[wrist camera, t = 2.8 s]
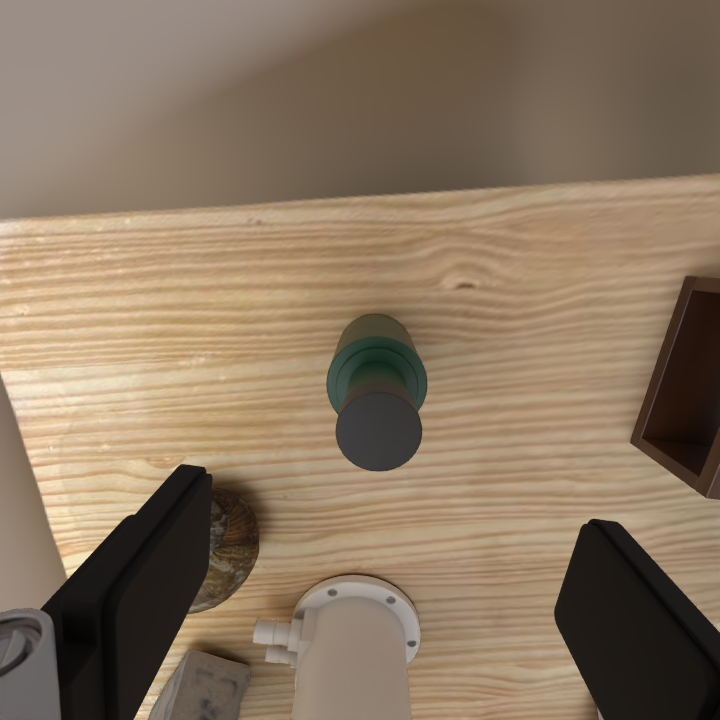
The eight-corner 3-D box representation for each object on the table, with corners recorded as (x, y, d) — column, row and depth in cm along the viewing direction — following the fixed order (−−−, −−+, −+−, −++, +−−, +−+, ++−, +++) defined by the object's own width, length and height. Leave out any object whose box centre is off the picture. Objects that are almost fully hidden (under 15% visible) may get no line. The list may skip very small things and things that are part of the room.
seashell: (262, 471, 36) (232, 531, 28) (275, 559, 38) (250, 637, 30) (138, 477, 36) (75, 537, 28) (158, 563, 38) (105, 641, 31)
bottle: (334, 380, 33) (304, 484, 18) (343, 309, 32) (318, 358, 17) (405, 390, 33) (434, 501, 18) (417, 319, 32) (459, 377, 17)
